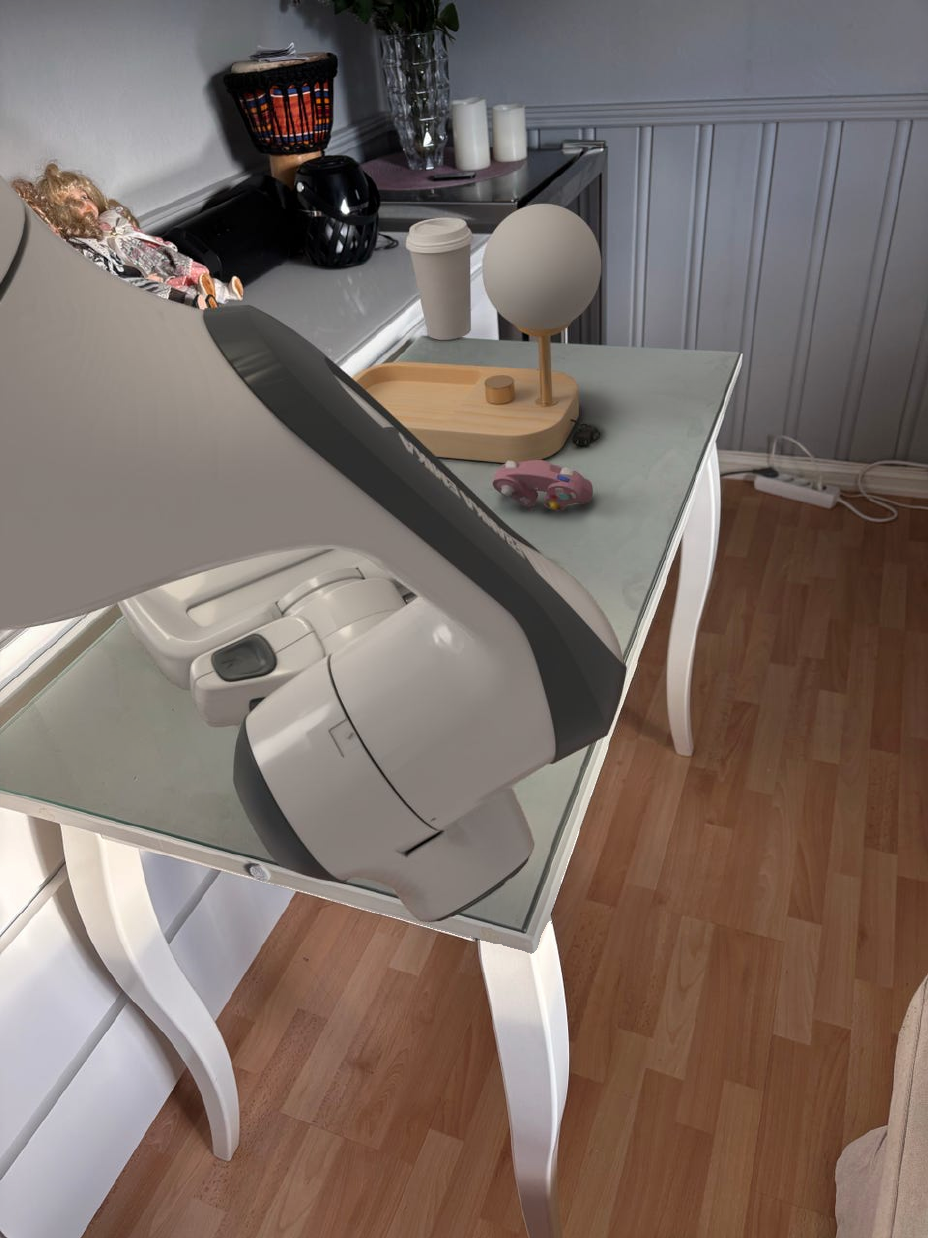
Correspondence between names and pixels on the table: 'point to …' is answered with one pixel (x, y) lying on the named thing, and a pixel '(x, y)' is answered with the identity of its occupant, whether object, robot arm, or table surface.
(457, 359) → the table surface
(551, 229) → the lamp
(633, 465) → the table surface
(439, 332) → the coffee cup
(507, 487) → the video game controller
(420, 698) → the robot arm
